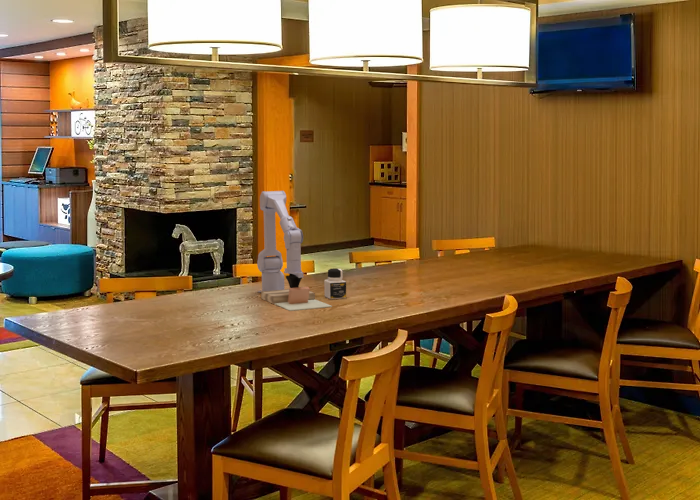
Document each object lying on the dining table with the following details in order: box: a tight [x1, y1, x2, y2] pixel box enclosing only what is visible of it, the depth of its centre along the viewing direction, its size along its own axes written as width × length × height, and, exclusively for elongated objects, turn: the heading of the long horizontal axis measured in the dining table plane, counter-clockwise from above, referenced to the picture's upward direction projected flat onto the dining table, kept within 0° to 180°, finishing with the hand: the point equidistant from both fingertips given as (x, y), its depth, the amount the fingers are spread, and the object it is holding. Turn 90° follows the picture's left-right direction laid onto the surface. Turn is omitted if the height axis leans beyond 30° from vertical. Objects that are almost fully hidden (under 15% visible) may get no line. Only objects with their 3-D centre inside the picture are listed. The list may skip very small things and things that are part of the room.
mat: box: [273, 299, 333, 312], centre depth 358 cm, size 16×18×1 cm
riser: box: [260, 288, 316, 305], centre depth 371 cm, size 14×18×3 cm
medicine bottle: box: [323, 267, 347, 300], centre depth 375 cm, size 7×7×12 cm
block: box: [288, 286, 311, 304], centre depth 361 cm, size 6×8×2 cm
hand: (294, 293), depth 365 cm, fingers closed
